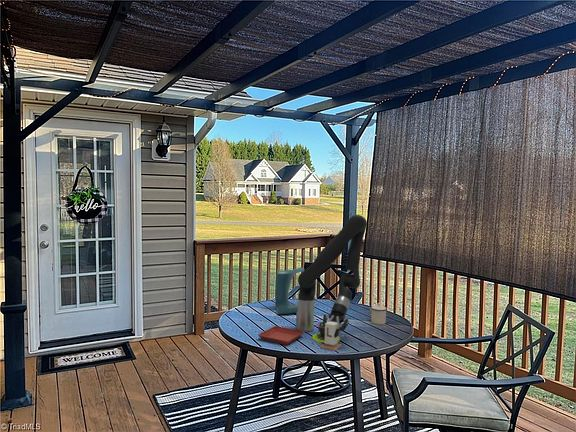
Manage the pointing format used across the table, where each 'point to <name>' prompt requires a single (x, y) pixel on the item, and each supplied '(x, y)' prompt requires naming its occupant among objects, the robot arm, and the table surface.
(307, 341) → the table surface
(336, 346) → the coaster
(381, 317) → the teacup with lid
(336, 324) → the plain off-white block
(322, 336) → the toy cauldron
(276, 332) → the plant saucer
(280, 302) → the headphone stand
